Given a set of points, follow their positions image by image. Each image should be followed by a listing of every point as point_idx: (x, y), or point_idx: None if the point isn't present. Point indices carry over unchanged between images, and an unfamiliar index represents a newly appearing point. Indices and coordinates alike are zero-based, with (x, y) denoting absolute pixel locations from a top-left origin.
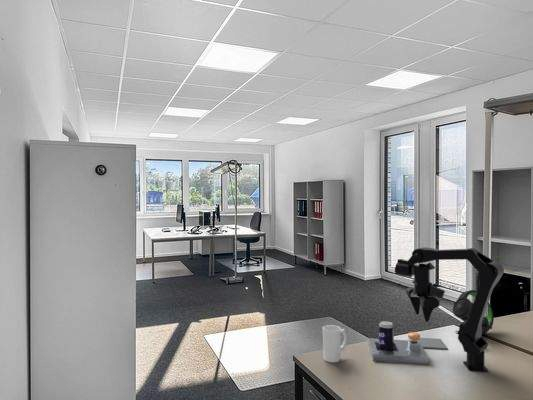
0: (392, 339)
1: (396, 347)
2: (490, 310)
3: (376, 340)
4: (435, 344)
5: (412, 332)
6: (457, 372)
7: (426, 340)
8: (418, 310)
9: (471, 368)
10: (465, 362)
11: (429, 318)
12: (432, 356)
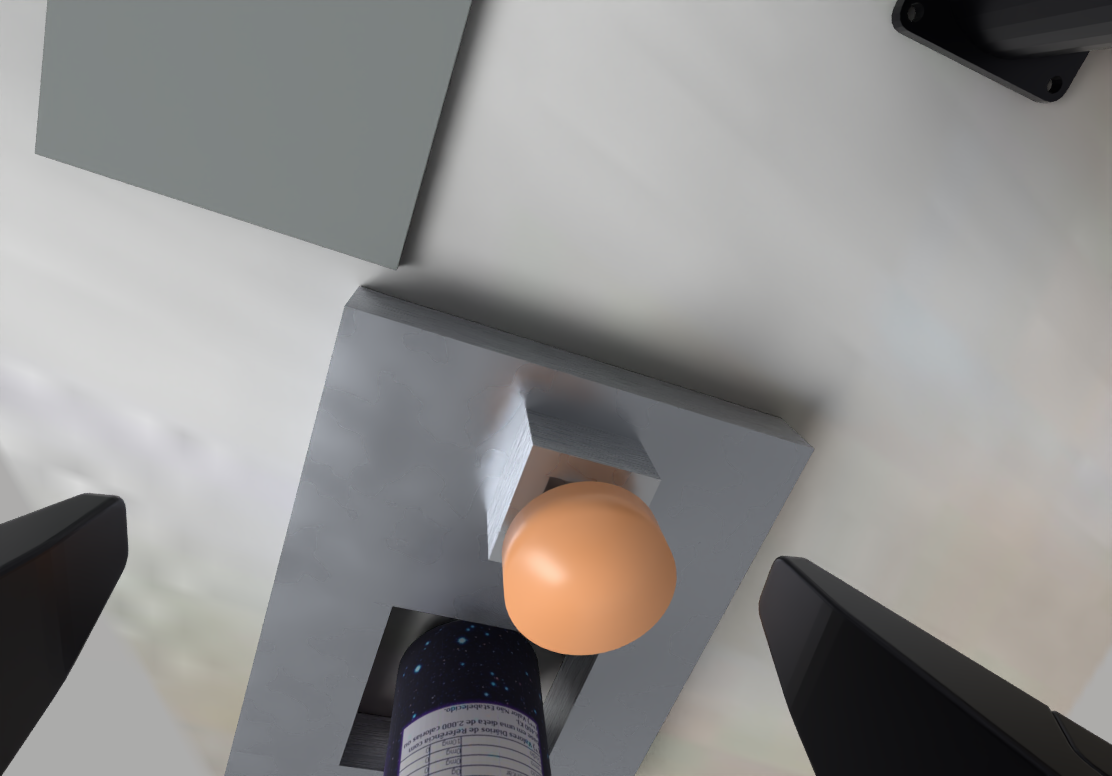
0: (543, 766)
1: (483, 617)
2: None
3: (291, 740)
4: (339, 17)
5: (514, 576)
6: (1005, 253)
7: (167, 59)
8: (46, 585)
9: (1059, 64)
10: (930, 14)
11: (888, 609)
12: (636, 277)
